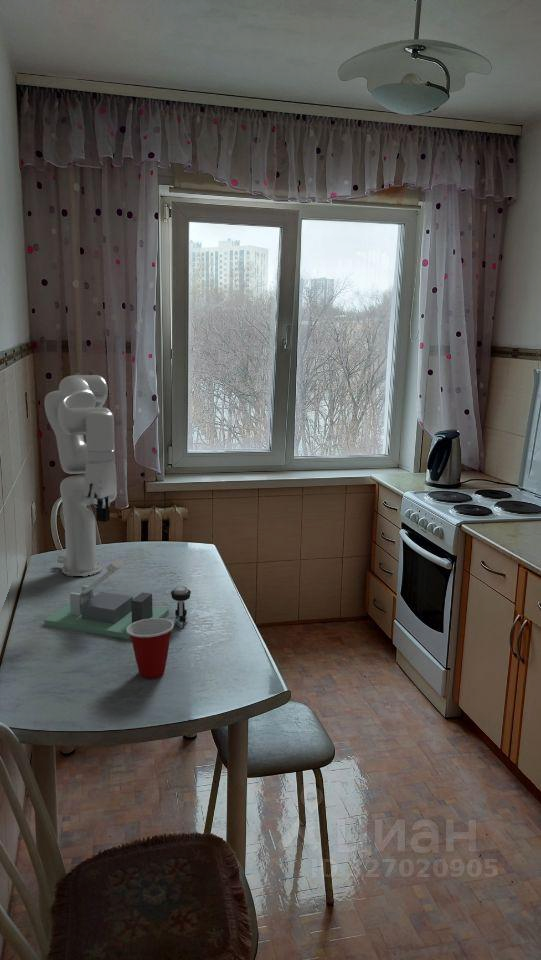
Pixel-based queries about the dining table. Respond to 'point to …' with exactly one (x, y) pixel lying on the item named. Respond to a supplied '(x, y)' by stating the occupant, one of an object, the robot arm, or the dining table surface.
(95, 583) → the retention strap
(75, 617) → the board
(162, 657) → the plastic cup
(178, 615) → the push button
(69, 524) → the robot arm
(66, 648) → the dining table surface
